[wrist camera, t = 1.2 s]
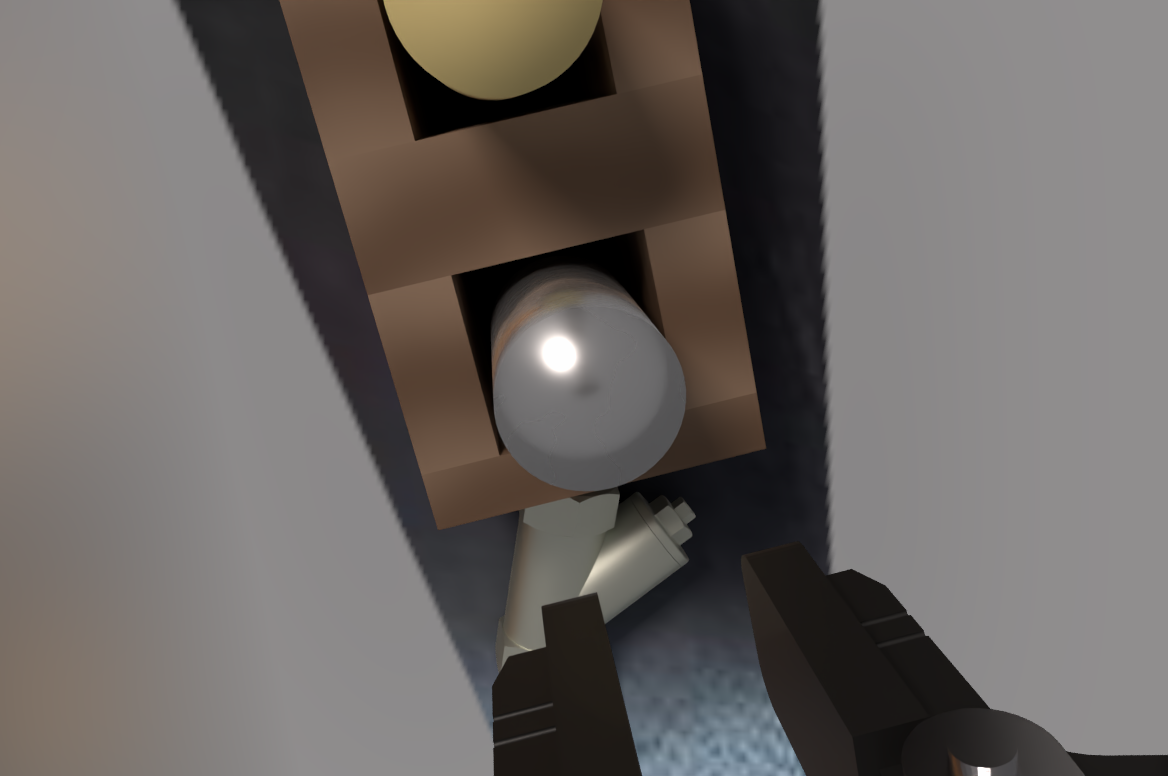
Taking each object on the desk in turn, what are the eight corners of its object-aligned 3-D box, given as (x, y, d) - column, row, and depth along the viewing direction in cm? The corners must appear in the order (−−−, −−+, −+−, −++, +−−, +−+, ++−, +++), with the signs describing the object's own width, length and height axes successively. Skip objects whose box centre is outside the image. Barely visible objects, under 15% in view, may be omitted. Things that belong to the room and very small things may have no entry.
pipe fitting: (685, 466, 37) (518, 454, 35) (716, 508, 33) (532, 495, 32) (650, 641, 39) (492, 636, 37) (676, 698, 35) (502, 695, 34)
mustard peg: (389, -52, 25) (351, -118, 17) (549, -88, 25) (577, -169, 18) (432, 116, 26) (414, 119, 19) (585, 81, 26) (623, 70, 19)
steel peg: (474, 274, 27) (472, 332, 20) (617, 240, 27) (666, 285, 20) (509, 411, 29) (519, 511, 21) (646, 377, 29) (701, 465, 22)
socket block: (299, -80, 29) (235, -147, 22) (605, -148, 30) (649, -238, 22) (447, 437, 35) (438, 529, 27) (704, 374, 35) (766, 448, 27)
